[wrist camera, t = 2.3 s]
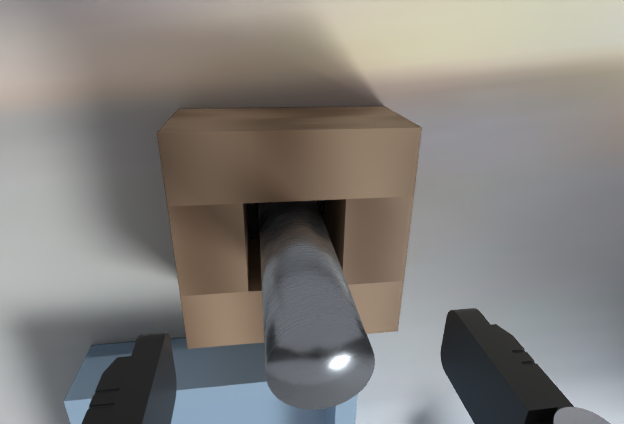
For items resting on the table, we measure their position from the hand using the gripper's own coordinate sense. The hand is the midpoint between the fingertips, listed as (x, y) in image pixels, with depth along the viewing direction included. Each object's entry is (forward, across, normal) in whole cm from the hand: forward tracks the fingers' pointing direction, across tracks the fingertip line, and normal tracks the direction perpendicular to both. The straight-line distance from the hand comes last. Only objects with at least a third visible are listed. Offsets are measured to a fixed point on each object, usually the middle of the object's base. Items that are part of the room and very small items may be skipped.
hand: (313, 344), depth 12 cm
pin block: (+11, 0, 0) cm, 11 cm away
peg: (+11, 0, 0) cm, 11 cm away
